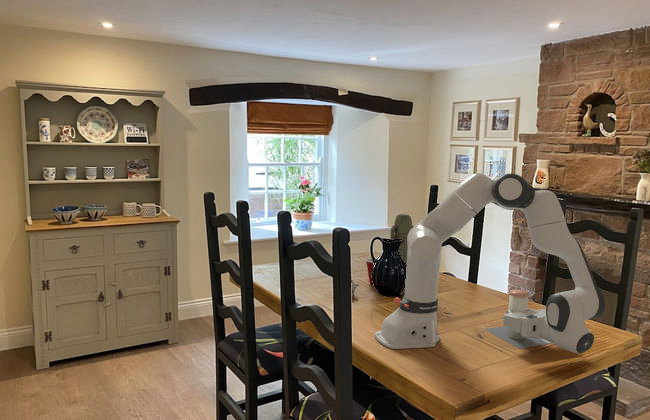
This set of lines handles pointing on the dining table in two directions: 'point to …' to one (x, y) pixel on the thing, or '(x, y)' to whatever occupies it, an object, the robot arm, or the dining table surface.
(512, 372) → the dining table surface
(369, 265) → the plastic cup
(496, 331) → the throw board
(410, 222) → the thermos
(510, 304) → the ball canister
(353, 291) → the game die
